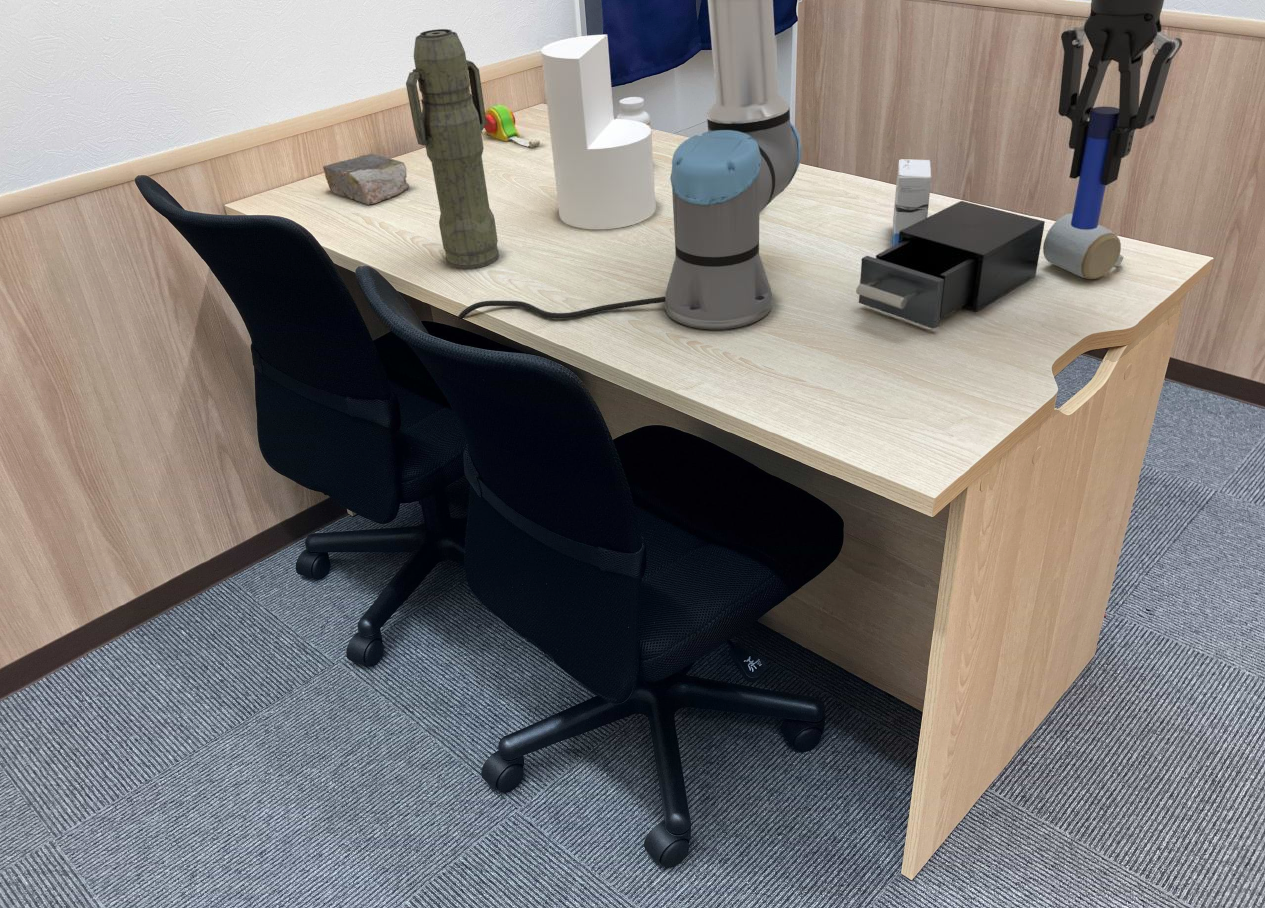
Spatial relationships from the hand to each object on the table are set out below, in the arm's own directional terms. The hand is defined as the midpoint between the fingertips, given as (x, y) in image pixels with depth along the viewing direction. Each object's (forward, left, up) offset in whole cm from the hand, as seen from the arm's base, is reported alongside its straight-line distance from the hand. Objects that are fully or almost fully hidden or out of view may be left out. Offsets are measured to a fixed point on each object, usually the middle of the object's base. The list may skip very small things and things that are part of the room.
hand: (1093, 178), depth 125 cm
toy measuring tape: (-64, +113, -19) cm, 131 cm away
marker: (0, 0, -6) cm, 6 cm away
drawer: (-18, +7, -18) cm, 26 cm away
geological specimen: (-94, +90, -19) cm, 132 cm away
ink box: (-9, +30, -19) cm, 37 cm away
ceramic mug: (+9, +11, -19) cm, 24 cm away
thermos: (-77, +48, -18) cm, 93 cm away
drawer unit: (-8, +13, -18) cm, 24 cm away
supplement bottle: (-42, +83, -18) cm, 95 cm away
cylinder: (-52, +61, -19) cm, 82 cm away
